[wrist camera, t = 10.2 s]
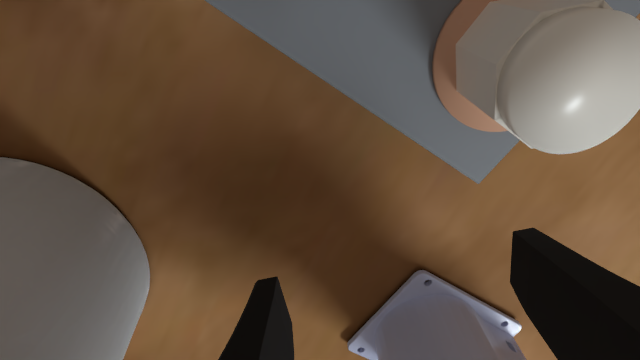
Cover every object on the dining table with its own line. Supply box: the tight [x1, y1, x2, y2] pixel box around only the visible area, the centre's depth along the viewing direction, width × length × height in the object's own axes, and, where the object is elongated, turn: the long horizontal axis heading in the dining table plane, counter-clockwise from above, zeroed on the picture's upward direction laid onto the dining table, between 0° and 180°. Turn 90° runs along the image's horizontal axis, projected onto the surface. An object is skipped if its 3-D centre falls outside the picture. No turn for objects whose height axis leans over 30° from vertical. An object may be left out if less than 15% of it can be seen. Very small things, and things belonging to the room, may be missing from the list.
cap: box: [456, 0, 640, 154], centre depth 16 cm, size 5×5×5 cm
